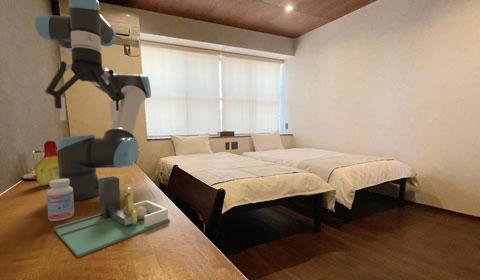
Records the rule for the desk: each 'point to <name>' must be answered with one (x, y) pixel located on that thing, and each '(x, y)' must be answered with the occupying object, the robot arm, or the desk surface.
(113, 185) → the block
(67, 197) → the pill bottle
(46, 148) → the bottle
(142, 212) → the ball
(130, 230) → the board
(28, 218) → the desk surface
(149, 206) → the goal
